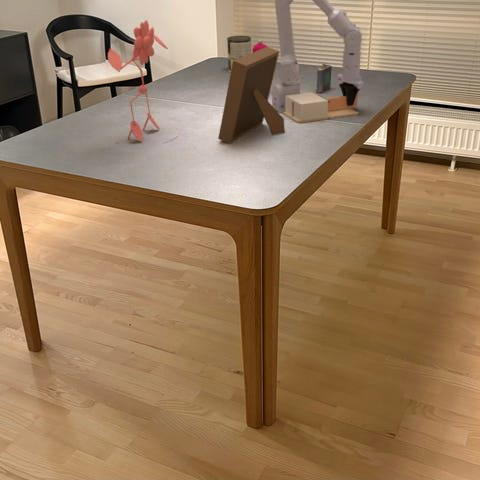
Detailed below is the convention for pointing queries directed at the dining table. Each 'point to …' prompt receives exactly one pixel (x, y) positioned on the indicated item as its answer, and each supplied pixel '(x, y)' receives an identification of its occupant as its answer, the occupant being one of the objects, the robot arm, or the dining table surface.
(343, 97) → the long copper stick
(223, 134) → the photo frame
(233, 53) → the coffee can
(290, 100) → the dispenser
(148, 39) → the pink stick figure
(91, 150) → the dining table surface
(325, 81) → the flask
